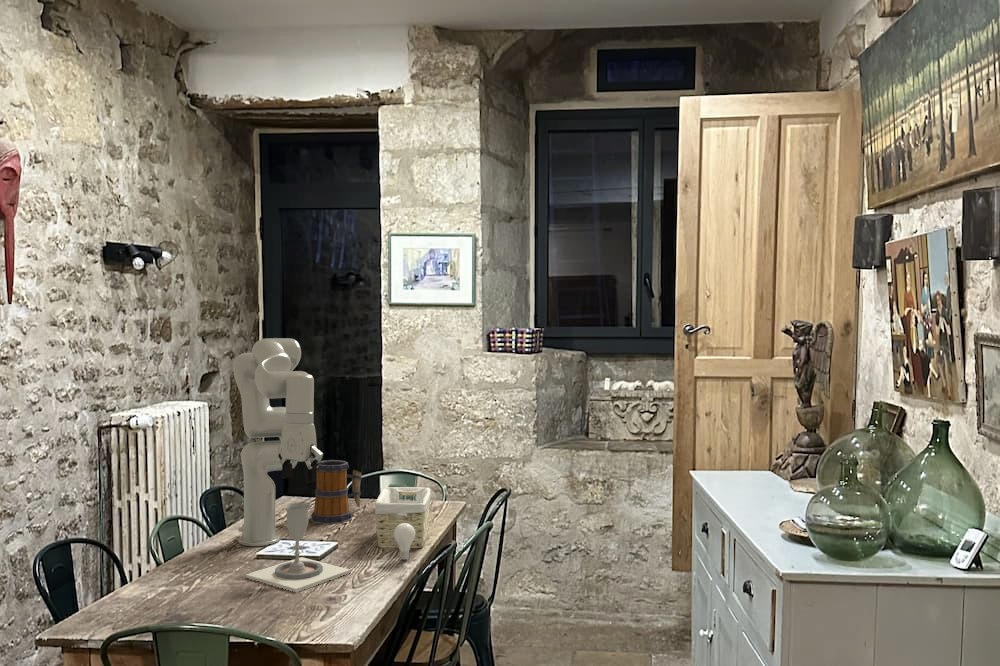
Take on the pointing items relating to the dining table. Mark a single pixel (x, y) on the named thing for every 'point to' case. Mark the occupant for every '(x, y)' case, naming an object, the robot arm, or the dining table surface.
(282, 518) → the dining table surface
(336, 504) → the mug
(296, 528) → the chalice
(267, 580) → the seat board
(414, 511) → the storage basket
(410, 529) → the lightbulb
